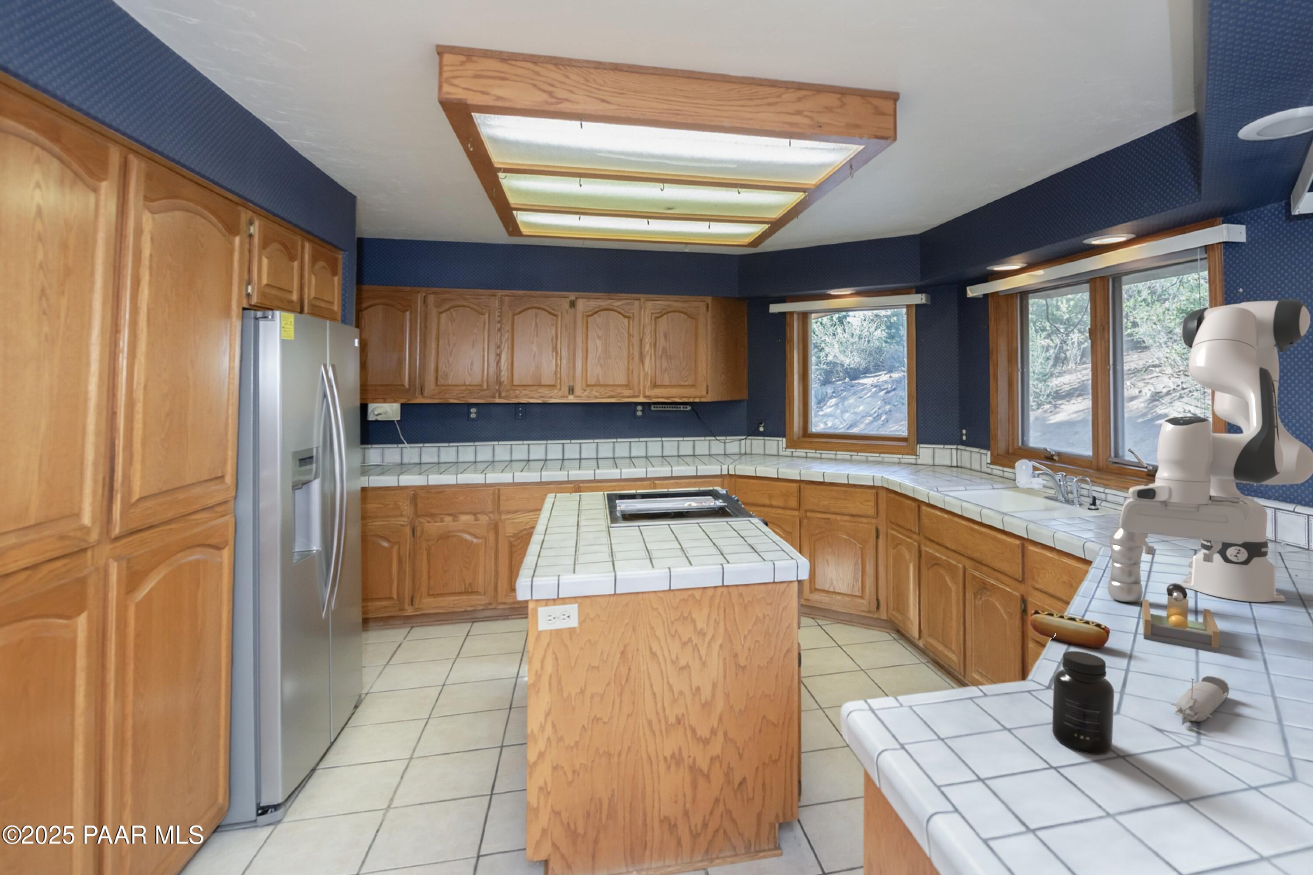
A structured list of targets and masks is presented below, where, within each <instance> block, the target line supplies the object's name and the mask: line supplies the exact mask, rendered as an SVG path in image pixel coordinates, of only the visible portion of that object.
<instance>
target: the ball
mask: <svg viewBox="0 0 1313 875" xmlns="http://www.w3.org/2000/svg"><path fill="white" fill-rule="evenodd" d="M1169 625H1170V626H1171V627H1176V628H1181V629H1186V628H1187V627H1188V622H1187V620H1186V619H1185V618H1184V617H1182V616H1179V615H1174V616H1171V617H1170V618H1169Z"/></svg>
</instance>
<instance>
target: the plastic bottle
mask: <svg viewBox="0 0 1313 875" xmlns="http://www.w3.org/2000/svg"><path fill="white" fill-rule="evenodd" d="M1120 517H1121V516H1119V517H1118V520H1117V524H1116V525H1117V526H1118V528H1116V530H1114V531H1113V532H1112V534H1111V535H1110V537H1109V544H1110V554H1111V569H1110V577H1109V578H1110V579H1109V581H1108V583H1107V584H1108V585H1107V592H1108V595H1109V597H1110V598H1111V599H1113V600H1116V601H1119V602H1123V603H1139V602H1140V601H1142V600H1143V594H1144V592H1143V585H1142V578H1141V576H1142V575H1141V565H1142V556H1143V553H1144V549H1145V546H1144V544H1143V543H1142V541H1141V540H1140V538H1139V533H1137V532H1128V531H1123V530H1122V529H1121V528H1120V526H1119V525H1120Z"/></svg>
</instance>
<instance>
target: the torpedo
mask: <svg viewBox="0 0 1313 875" xmlns="http://www.w3.org/2000/svg"><path fill="white" fill-rule="evenodd" d="M1190 679H1191V687H1190V688H1189V689H1188V690H1187V691H1186V692H1185V693H1184V694H1182V695H1181V696H1180V697H1179V698H1178V700H1177V701H1176V703H1173V702H1171V703H1170V705H1172V706H1174V707H1175V708H1176V710H1175V711H1174V713H1173V714H1174V716H1175V715H1176V716H1178V717H1180V718H1181V717H1182V718H1181V720H1182V721H1181V726H1184V725H1185V724H1188V722H1193V723H1194V722H1198V723H1199V722H1200V723H1201V722H1204V721H1206V720H1207V718H1213V716H1212V715H1211V714H1213V712H1215V710H1216V709H1217V708H1218V707H1220V706H1221V704H1222V703H1223V702H1224V701H1225V700H1226V699H1227V698H1228V696H1229V694H1230V687H1229V684H1228V682H1226V680H1225V679H1223V678H1220V677H1217V676H1214V675H1213V676H1212V675H1206V676H1204V677H1202V679H1201V680H1200V681H1198V682H1195V684H1194V680H1195V678H1193V677H1191V678H1190Z"/></svg>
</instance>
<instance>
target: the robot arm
mask: <svg viewBox="0 0 1313 875" xmlns="http://www.w3.org/2000/svg"><path fill="white" fill-rule="evenodd" d="M1310 323H1311V315H1310V312H1309V310H1308V308H1307V305H1306V304H1305V303H1303V301H1301V300H1298V299H1289V298H1288V299H1284V298H1283V299H1279V300H1257V301H1256V300H1255V301H1245V302H1241V303H1233V304H1227V305H1220V306H1215V307H1210V308H1209V307H1203V308H1198V309H1196V310H1193V311H1191V312H1190V313H1189V314H1187V315H1186V316H1185V317H1184V320H1183V322H1182V325H1181V328H1180V329H1181V332H1180V333H1181V337H1182V341H1183V343H1184V345H1185V346H1186V347H1188V348H1189V349H1191V350H1190V353H1189V357H1188V364H1187V366H1188V367H1187V369H1188V373H1189V375H1190V377H1191V378H1192V379H1193V380H1194V381H1195V382H1196V383H1197V384H1198V385H1199V384H1200V385H1201V386H1203V388H1204V387H1205V388H1207V389H1209V390H1211V391H1214V398H1213V411H1214V413H1215V415H1216V416H1217V417H1218V418H1220V419H1222V420H1224V421H1226V422H1228V423H1230V424H1232V425H1235V426H1238V427H1240V428H1241V430H1242V433H1218V432H1217V433H1215V432H1214V433H1213V432H1212V431H1213V430H1212V424H1211V421H1210V419H1208V418H1205V417H1201V416H1193V415H1192V416H1190V415H1189V416H1186V415H1185V416H1173V417H1169V418H1166V419H1165V420H1163V422H1162V425H1161V428H1160V431H1159V437H1158V440H1157V447H1156V448H1157V449H1156V459H1157V466H1158V468H1157V472H1156V473H1155V479H1154V480H1155V481H1154V482H1153V483H1147V484H1142V485H1136V486H1132V487H1129V489H1128V496H1129V498H1127V499H1126V500H1125V501H1124V503H1123V506H1122V509H1121V512H1120V516H1119V517H1120V525H1119V526H1120V528H1121V529H1122V530H1123V531H1128V532H1137V533H1139V538H1140V540H1141V541H1142V543H1143V544H1144V555H1149V556H1152V555H1153V556H1154V554H1155V553H1154V551H1155V546H1154V545H1149V543H1148V542H1147V540H1146V539H1148V538H1149V537H1148V536H1149V535H1157V536H1166V537H1175V538H1183V539H1193V540H1200V549H1201V550H1200V551H1199V552H1198V553H1196V554H1195V555H1194V556H1193V557H1192V558H1189V559H1188V568H1189V569H1190V570H1189V573H1188V575H1186V576H1185V578H1184V579H1182V581H1181V583H1180V585H1182V586H1183V587H1184V588H1185V589H1189V590H1190V589H1191V590H1193V591H1197V592H1200V593H1203V594H1206V595H1210V596H1212V597H1213V596H1214V597H1218V598H1223V599H1228V600H1234V601H1240V602H1241V601H1242V602H1250V603H1251V602H1253V603H1267V602H1286V597H1285V596H1284V595H1283V594H1281V593H1279V592H1277V590H1276V585H1277V584H1276V581H1277V580H1276V579H1277V578H1276V574H1277V573H1276V570H1277V569H1276V565H1274V564H1273V563H1272V562H1271V561H1270V560H1269V559H1268V558H1267V557H1268V554H1269V542H1268V540H1267V526H1268V525H1267V524H1268V512H1267V510H1266V508H1265V507H1264V505H1262V504H1261V503H1260V502H1258V501H1257V500H1255V499H1253V498H1251V497H1248V496H1246V495H1244V494H1242V493H1241V492H1240V491H1239V490H1238V488H1237V485H1236V483H1242V484H1243V483H1245V484H1255V485H1256V484H1257V485H1270V486H1279V485H1281V486H1282V485H1298V484H1302V483H1304V482H1305V481H1307V480H1308V479H1309V478H1311V476H1312V475H1313V451H1312V449H1311V448H1310V447H1309V446H1308V445H1306V444H1305V443H1303V442H1301V441H1300V440H1299V439H1297V438H1295V437H1294V436H1293V435H1292V434H1291V433H1290V432H1289V431H1288V430H1286V428H1285V427H1284V425H1283V424H1282V422H1281V419H1280V415H1279V411H1278V408H1279V407H1278V396H1279V395H1278V394H1279V384H1280V383H1279V382H1280V381H1279V380H1280V362H1279V354H1278V350H1279V352H1280V353H1284V352H1285V351H1286V350H1288V347H1291V346H1294V345H1296V344H1297V343H1299V341H1301V340H1302V339H1303V338H1304V337H1305V335H1306V332H1307V331H1308V330H1309V327H1310V325H1311V324H1310ZM1119 526H1118V527H1119Z"/></svg>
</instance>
